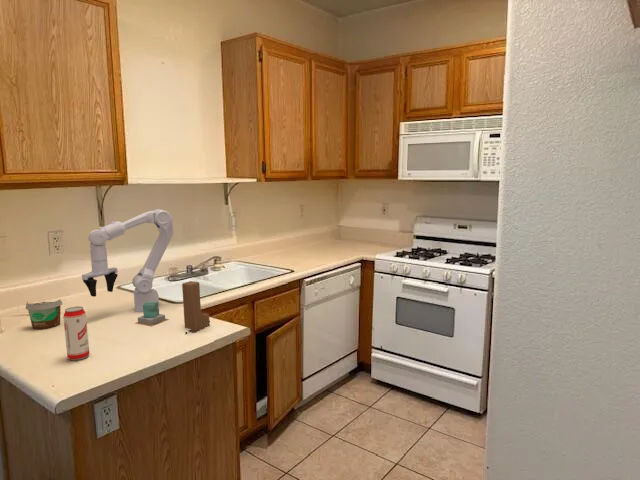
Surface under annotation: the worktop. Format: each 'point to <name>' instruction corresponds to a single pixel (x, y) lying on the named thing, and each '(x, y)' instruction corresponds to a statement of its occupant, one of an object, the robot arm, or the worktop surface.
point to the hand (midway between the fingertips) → (102, 293)
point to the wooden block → (193, 307)
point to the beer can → (76, 333)
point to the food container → (44, 314)
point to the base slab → (151, 325)
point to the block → (150, 309)
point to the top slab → (151, 319)
